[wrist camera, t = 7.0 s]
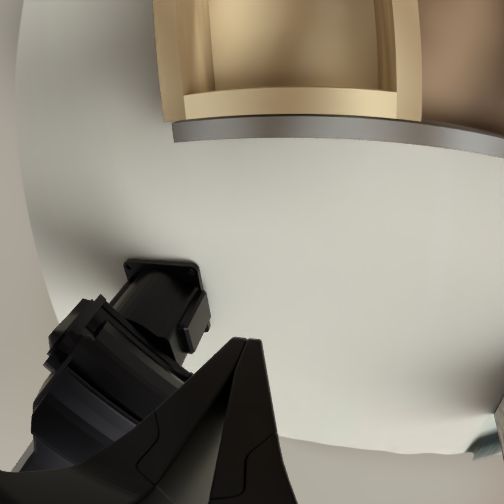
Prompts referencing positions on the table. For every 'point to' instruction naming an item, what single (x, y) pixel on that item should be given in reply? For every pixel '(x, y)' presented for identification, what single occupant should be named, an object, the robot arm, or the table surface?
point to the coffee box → (500, 423)
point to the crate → (288, 58)
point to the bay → (433, 91)
